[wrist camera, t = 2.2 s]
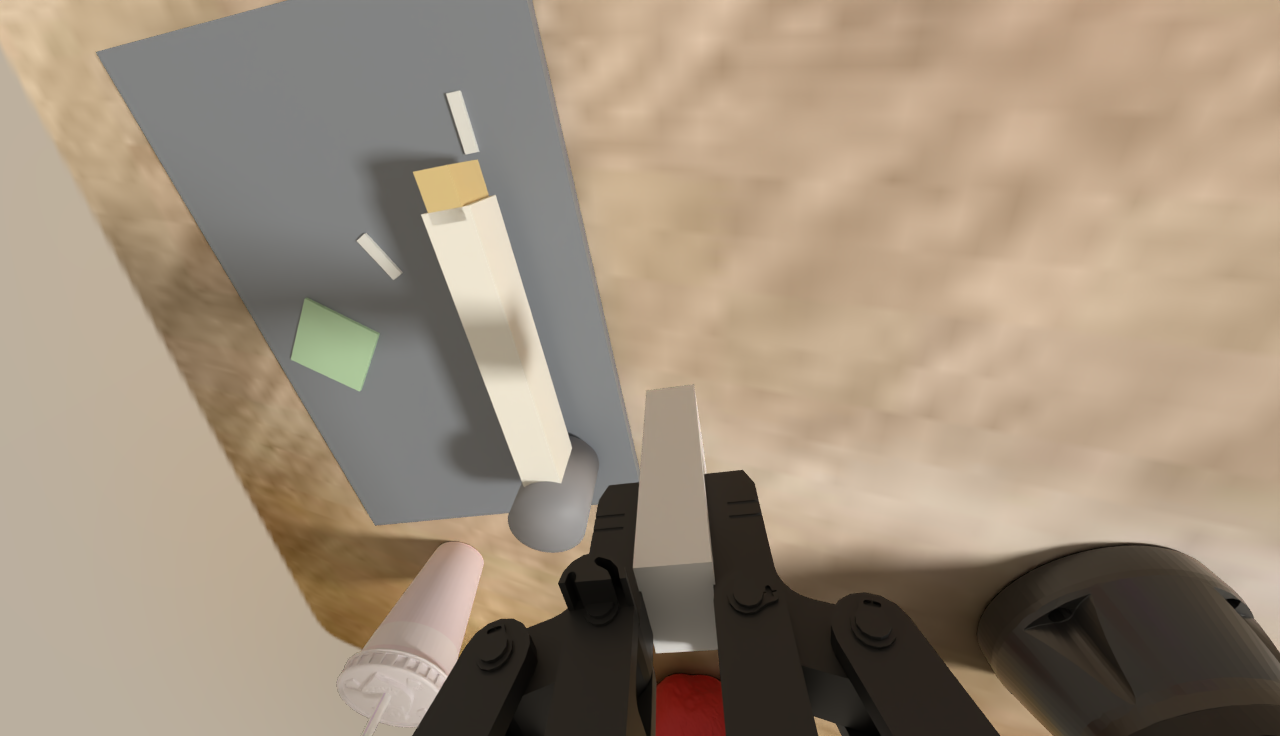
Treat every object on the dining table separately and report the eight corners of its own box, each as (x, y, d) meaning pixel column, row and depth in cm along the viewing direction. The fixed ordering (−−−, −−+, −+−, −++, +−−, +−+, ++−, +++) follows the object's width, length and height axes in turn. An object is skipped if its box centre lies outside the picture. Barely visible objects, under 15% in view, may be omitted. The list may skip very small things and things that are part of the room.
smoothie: (489, 526, 33) (382, 764, 21) (510, 587, 36) (426, 827, 24) (405, 529, 34) (252, 761, 22) (432, 588, 37) (311, 822, 25)
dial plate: (644, 489, 31) (643, 502, 30) (382, 514, 33) (373, 527, 32) (520, -52, 18) (511, -63, 17) (120, 55, 21) (90, 51, 20)
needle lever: (605, 484, 29) (593, 549, 25) (543, 490, 30) (521, 555, 25) (514, 152, 21) (470, 159, 16) (429, 169, 21) (365, 181, 17)
